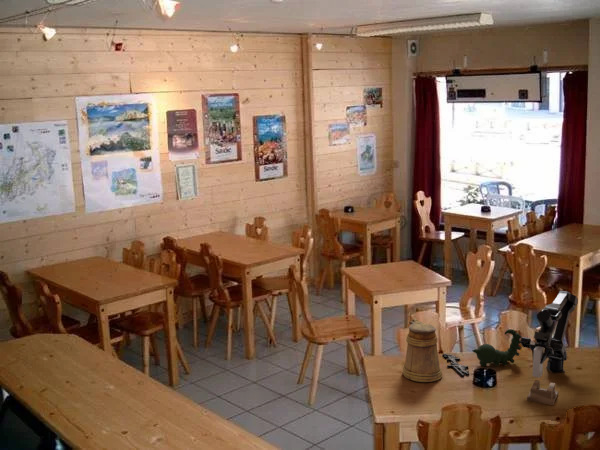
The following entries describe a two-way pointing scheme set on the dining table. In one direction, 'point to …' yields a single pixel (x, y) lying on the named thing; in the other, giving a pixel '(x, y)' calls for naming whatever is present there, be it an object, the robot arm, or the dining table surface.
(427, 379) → the tankard
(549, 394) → the clay rack
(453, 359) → the nameplate
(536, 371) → the clay bar
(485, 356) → the toy figurine
